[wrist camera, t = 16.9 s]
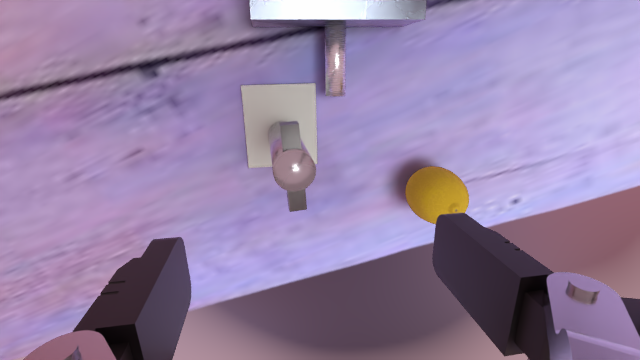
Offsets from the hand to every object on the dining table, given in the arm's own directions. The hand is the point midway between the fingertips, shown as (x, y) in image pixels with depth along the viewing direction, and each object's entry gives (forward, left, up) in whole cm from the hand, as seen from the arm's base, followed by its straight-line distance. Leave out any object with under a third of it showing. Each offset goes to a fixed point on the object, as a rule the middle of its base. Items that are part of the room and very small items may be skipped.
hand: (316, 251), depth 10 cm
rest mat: (0, 0, -24) cm, 24 cm away
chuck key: (+1, 0, -24) cm, 24 cm away
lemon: (+7, +15, -24) cm, 29 cm away
